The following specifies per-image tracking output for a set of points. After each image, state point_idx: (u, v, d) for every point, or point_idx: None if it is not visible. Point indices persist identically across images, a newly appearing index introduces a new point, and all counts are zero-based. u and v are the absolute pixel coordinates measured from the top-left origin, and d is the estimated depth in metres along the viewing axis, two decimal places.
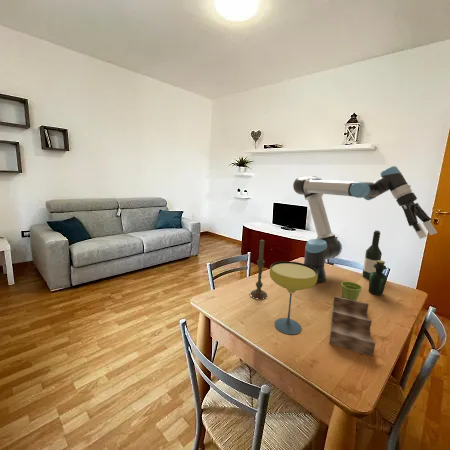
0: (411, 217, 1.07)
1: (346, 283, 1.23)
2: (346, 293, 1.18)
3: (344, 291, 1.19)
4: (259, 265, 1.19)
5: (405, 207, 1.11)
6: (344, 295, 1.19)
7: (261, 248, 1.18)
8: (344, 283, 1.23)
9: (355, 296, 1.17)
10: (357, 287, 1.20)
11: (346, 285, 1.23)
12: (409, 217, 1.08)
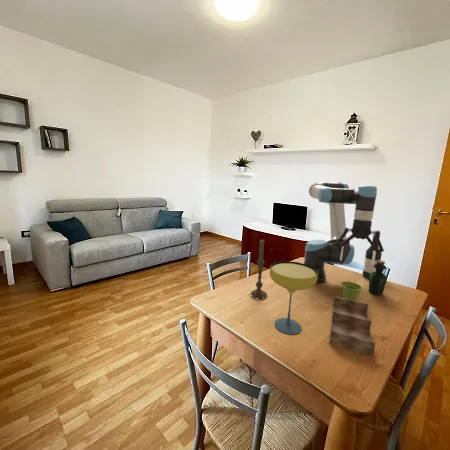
0: (338, 240, 1.18)
1: (346, 283, 1.23)
2: (346, 293, 1.18)
3: (344, 291, 1.19)
4: (259, 265, 1.19)
5: (344, 230, 1.16)
6: (344, 295, 1.19)
7: (261, 248, 1.18)
8: (344, 283, 1.23)
9: (355, 296, 1.17)
10: (357, 287, 1.20)
11: (346, 285, 1.23)
12: (338, 239, 1.18)
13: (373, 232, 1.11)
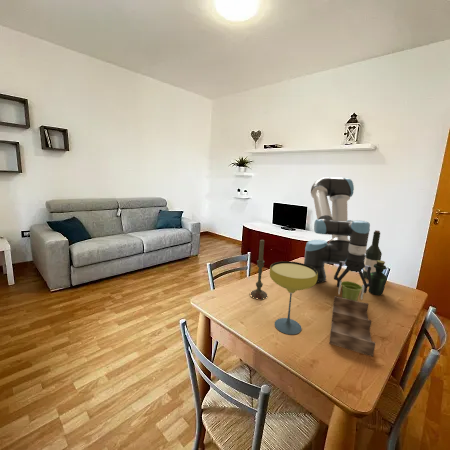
0: (335, 274, 1.21)
1: (346, 283, 1.23)
2: (346, 293, 1.18)
3: (344, 291, 1.19)
4: (259, 265, 1.19)
5: (339, 263, 1.20)
6: (344, 295, 1.19)
7: (261, 248, 1.18)
8: (344, 283, 1.23)
9: (355, 296, 1.16)
10: (357, 287, 1.20)
11: (346, 285, 1.23)
12: (335, 273, 1.21)
13: (366, 267, 1.14)
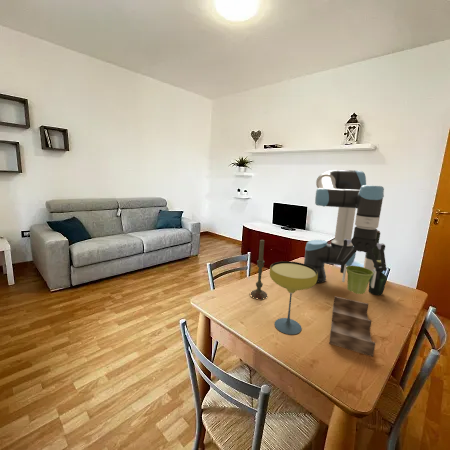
0: (338, 256, 0.95)
1: (352, 268, 0.97)
2: (353, 280, 0.92)
3: (350, 277, 0.93)
4: (259, 265, 1.19)
5: (343, 242, 0.94)
6: (350, 282, 0.93)
7: (261, 248, 1.18)
8: (350, 268, 0.97)
9: (364, 283, 0.90)
10: (367, 273, 0.94)
11: (352, 270, 0.97)
12: (339, 255, 0.95)
13: (379, 245, 0.88)
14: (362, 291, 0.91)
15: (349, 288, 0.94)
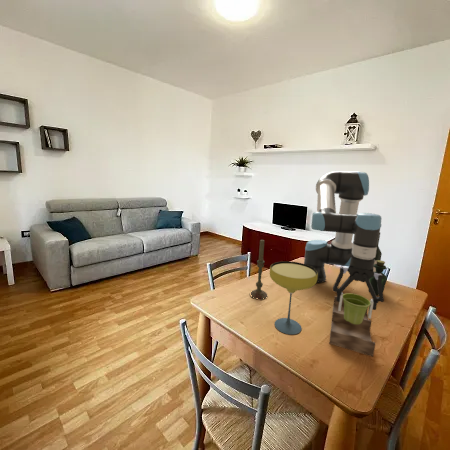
0: (334, 284, 0.92)
1: (349, 296, 0.94)
2: (349, 310, 0.89)
3: (346, 307, 0.90)
4: (259, 265, 1.19)
5: None
6: (346, 312, 0.90)
7: (261, 248, 1.18)
8: (346, 296, 0.94)
9: (361, 314, 0.87)
10: (364, 302, 0.91)
11: (349, 298, 0.94)
12: (335, 283, 0.92)
13: (376, 275, 0.85)
14: (359, 321, 0.88)
15: (345, 318, 0.91)
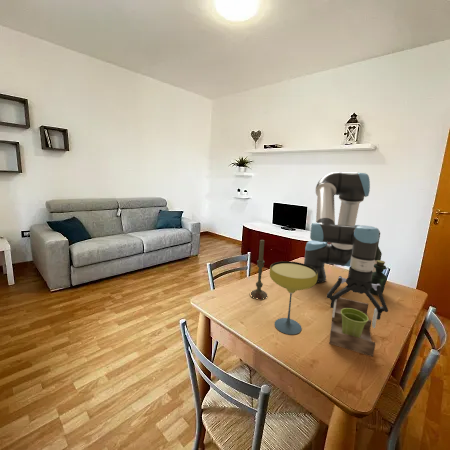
0: (329, 292, 0.93)
1: (347, 310, 0.96)
2: (347, 325, 0.90)
3: (345, 322, 0.91)
4: (259, 265, 1.19)
5: (338, 280, 0.92)
6: (345, 327, 0.91)
7: (261, 248, 1.18)
8: (345, 310, 0.95)
9: (359, 330, 0.89)
10: (362, 317, 0.93)
11: (347, 313, 0.95)
12: (330, 290, 0.93)
13: (374, 286, 0.86)
14: None
15: (344, 332, 0.92)
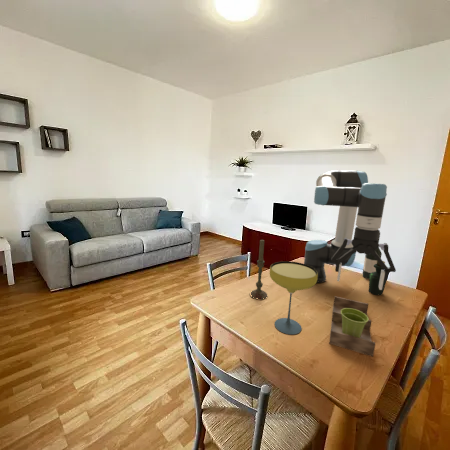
0: (334, 254, 0.90)
1: (347, 310, 0.95)
2: (347, 325, 0.90)
3: (345, 322, 0.91)
4: (259, 265, 1.19)
5: (343, 241, 0.89)
6: (345, 327, 0.91)
7: (261, 248, 1.18)
8: (345, 311, 0.95)
9: (359, 330, 0.89)
10: (362, 317, 0.93)
11: (347, 313, 0.95)
12: (335, 253, 0.90)
13: (381, 245, 0.83)
14: None
15: (344, 333, 0.92)
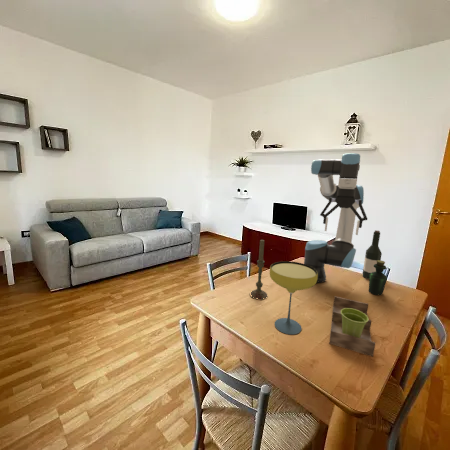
0: None
1: (347, 310, 0.95)
2: (347, 325, 0.90)
3: (345, 322, 0.91)
4: (259, 265, 1.19)
5: (329, 200, 1.16)
6: (345, 327, 0.91)
7: (261, 248, 1.18)
8: (345, 311, 0.95)
9: (359, 330, 0.89)
10: (362, 317, 0.93)
11: (347, 313, 0.95)
12: (323, 209, 1.18)
13: (357, 201, 1.11)
14: None
15: (344, 333, 0.92)
